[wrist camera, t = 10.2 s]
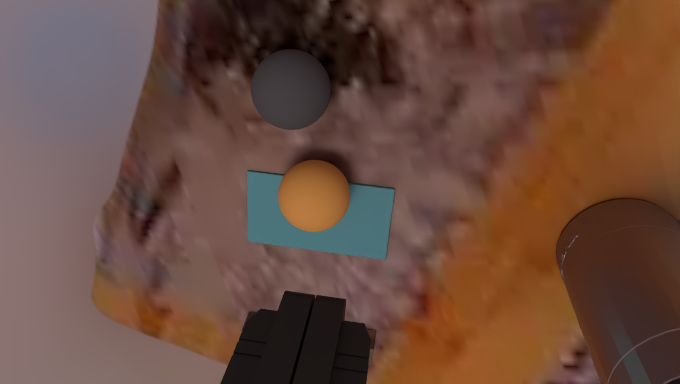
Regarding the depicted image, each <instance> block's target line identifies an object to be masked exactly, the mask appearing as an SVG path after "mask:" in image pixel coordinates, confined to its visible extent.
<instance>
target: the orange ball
mask: <svg viewBox="0 0 680 384" xmlns="http://www.w3.org/2000/svg"><path fill="white" fill-rule="evenodd" d="M278 202H279V206H280V209H281V211H282V213H283V215H284V216H285V218H286V219H287V220H288V221H289V222H290V223H291V224H292V225H293V226H295V227H297V228H299V229H301V230H304V231H308V232H320V231H324V230H327V229H329V228H332V227H333V226H335V225H336V224H337V223H338V222H340V221H341V219H342V218H343V217H344V215H345V214H346V212H347V210H348V207H349V203H350V189H349V185H348V182H347V180H346V178H345V176H344V175H343V173H342V172H341V171H340V170H339V169H338V168H337V167H335V166H334V165H332V164H330V163H328V162H325V161H321V160H307V161H303V162H300V163H298V164H296V165H295V166H293V167H292V168H291V169H289V170H288V171H287V173H286V174H285V175H284V177H283V178H282V180H281V183H280V186H279V190H278Z"/></svg>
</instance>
